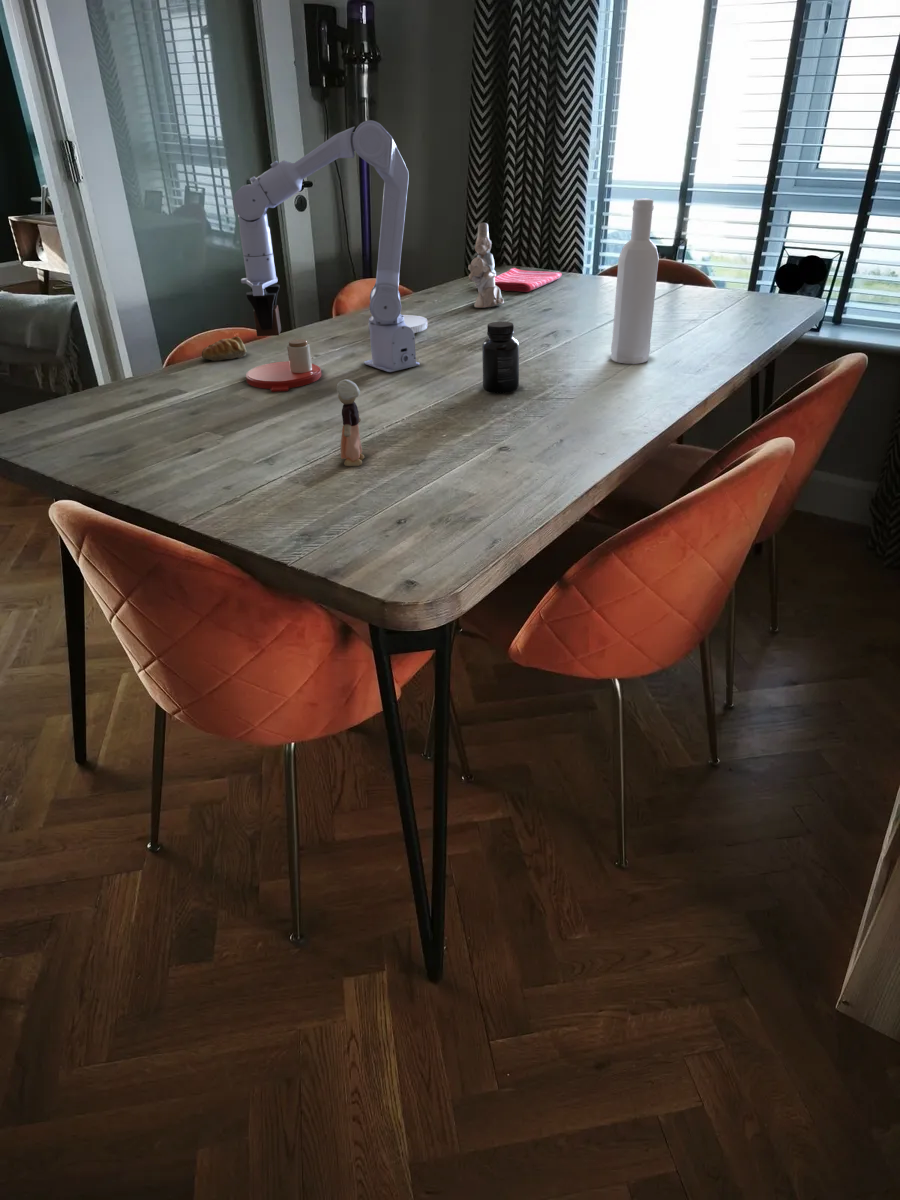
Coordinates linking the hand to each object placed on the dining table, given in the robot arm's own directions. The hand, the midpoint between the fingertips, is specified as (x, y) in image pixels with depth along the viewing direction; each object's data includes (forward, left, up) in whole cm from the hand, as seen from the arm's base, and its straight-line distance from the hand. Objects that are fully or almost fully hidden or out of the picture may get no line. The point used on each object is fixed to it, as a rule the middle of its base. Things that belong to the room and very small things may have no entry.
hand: (268, 326), depth 163 cm
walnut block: (0, 0, -1) cm, 1 cm away
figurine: (+13, -72, -9) cm, 73 cm away
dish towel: (+28, -98, -9) cm, 102 cm away
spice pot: (-9, -2, -8) cm, 11 cm away
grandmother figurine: (-54, +16, -9) cm, 57 cm away
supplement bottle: (-43, -25, -9) cm, 50 cm away
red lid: (-6, +1, -9) cm, 11 cm away
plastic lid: (+7, -38, -9) cm, 39 cm away
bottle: (-47, -58, -9) cm, 75 cm away
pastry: (+17, +2, -9) cm, 20 cm away
